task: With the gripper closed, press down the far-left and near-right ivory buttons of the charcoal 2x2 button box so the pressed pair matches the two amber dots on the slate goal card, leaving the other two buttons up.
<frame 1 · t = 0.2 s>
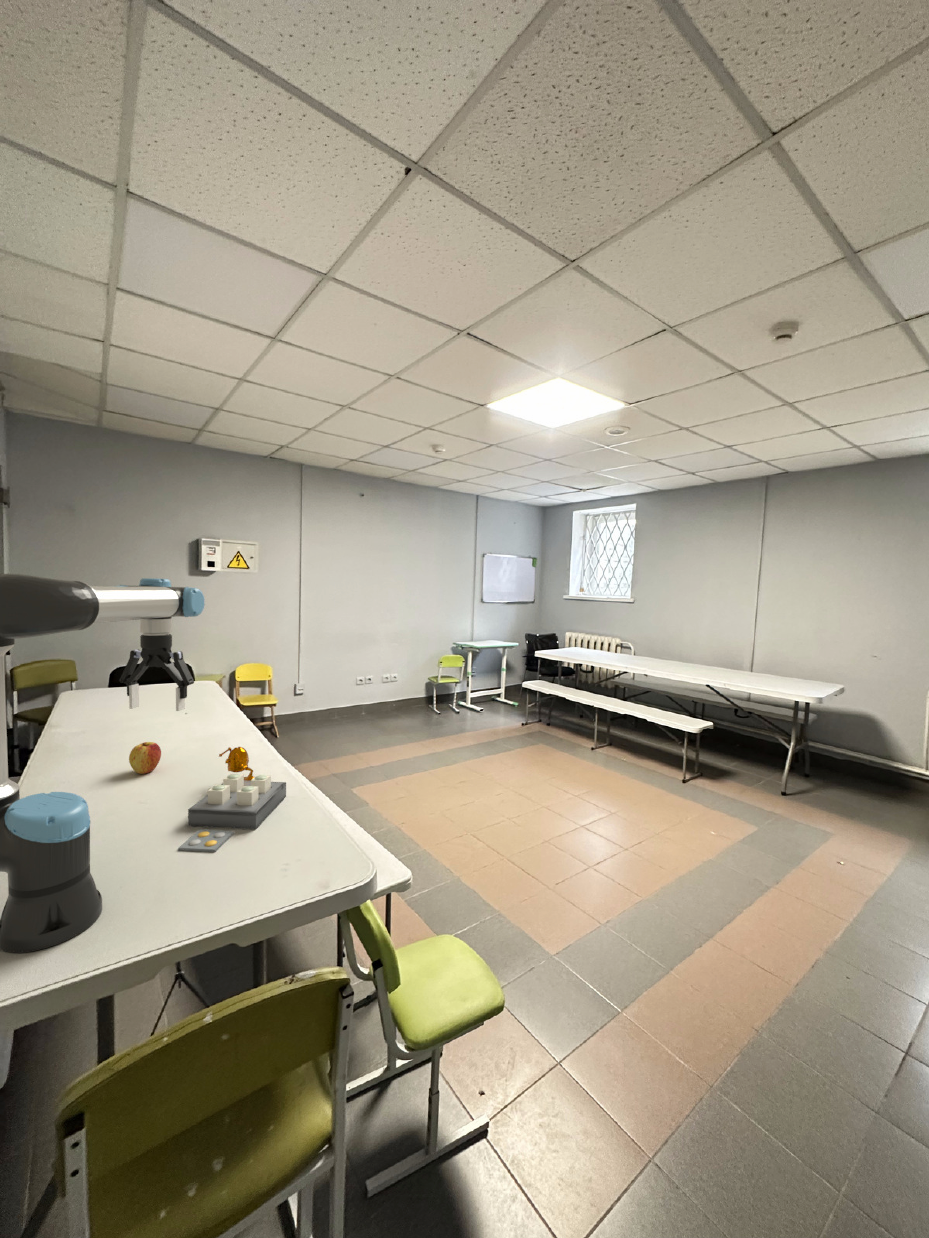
hand: (157, 708, 140), 28 cm above the table, fingers open, 13 cm apart
button far right: (260, 784, 143), point 6 cm above the table, slide at 0.0 cm
button far left: (233, 783, 144), point 6 cm above the table, slide at 0.0 cm
button near left: (219, 794, 136), point 6 cm above the table, slide at 0.0 cm
button near right: (247, 796, 135), point 6 cm above the table, slide at 0.0 cm
apple: (145, 772, 165), on the table
figurine: (240, 784, 158), on the table
goal card: (207, 841, 123), on the table
button box: (240, 810, 140), on the table
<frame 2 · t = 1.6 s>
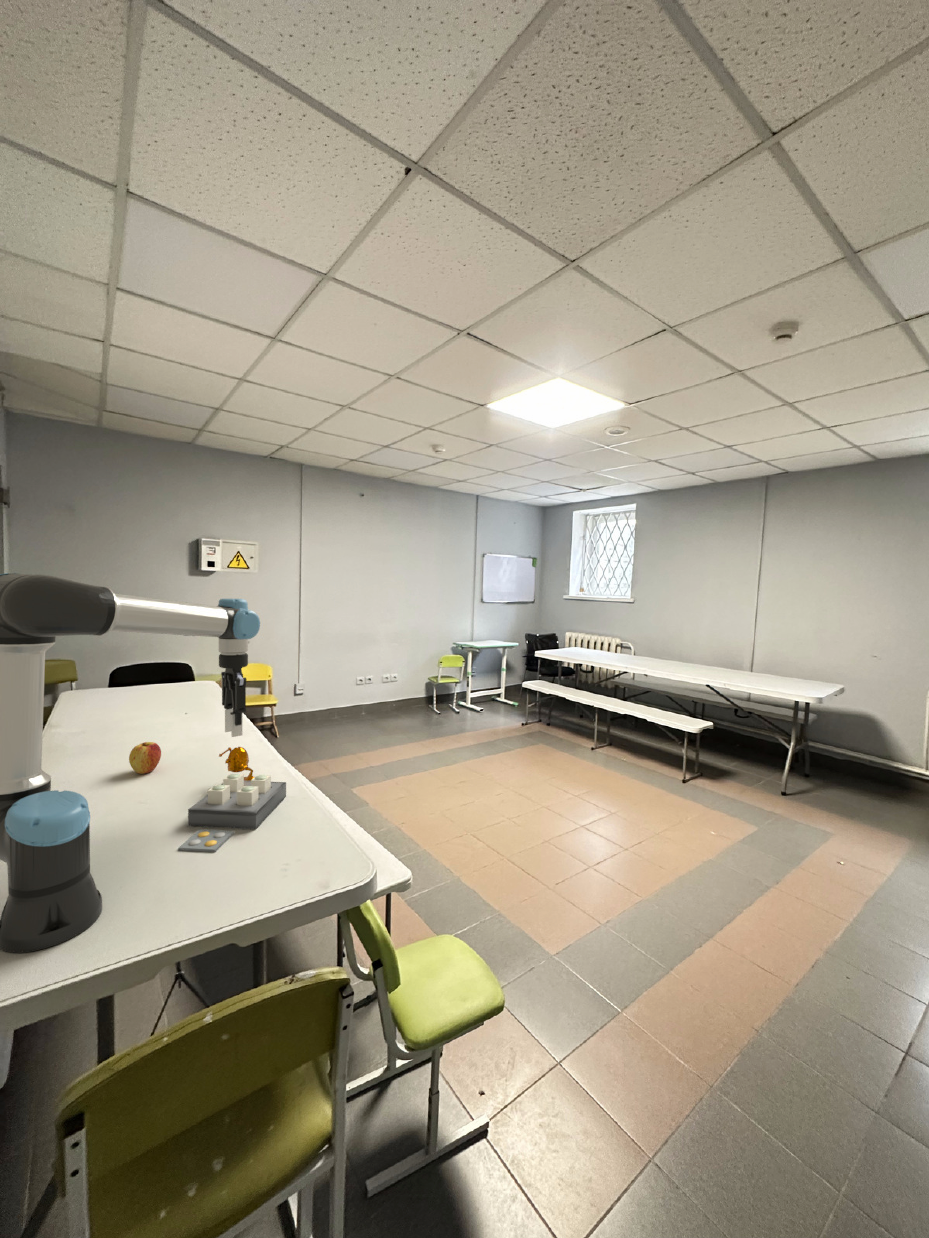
hand: (233, 733, 143), 21 cm above the table, fingers open, 5 cm apart
nothing on the table moved.
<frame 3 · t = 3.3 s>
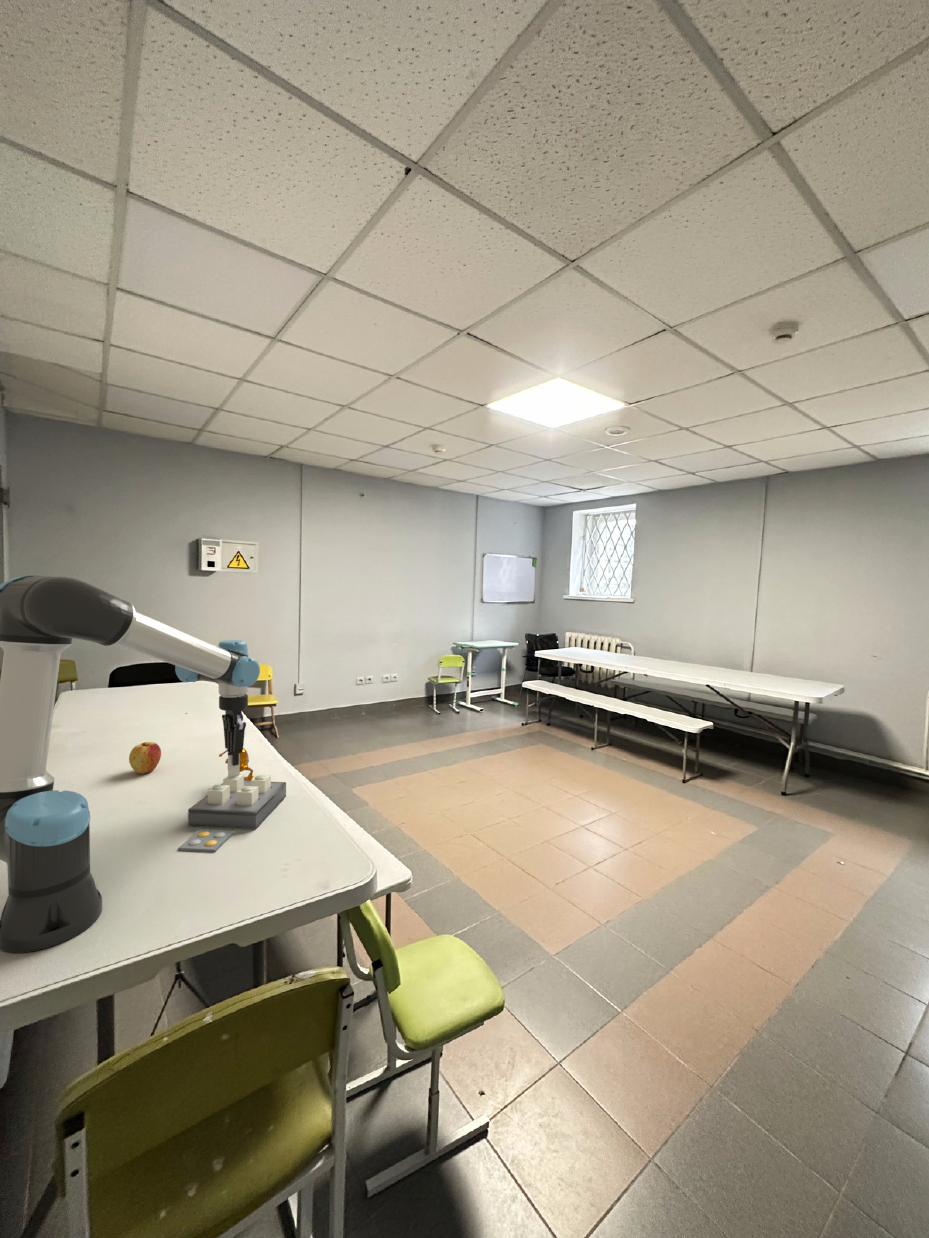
hand: (234, 774, 144), 8 cm above the table, fingers closed
button far left: (233, 783, 144), point 6 cm above the table, slide at 0.1 cm, touching gripper
everything else where it was.
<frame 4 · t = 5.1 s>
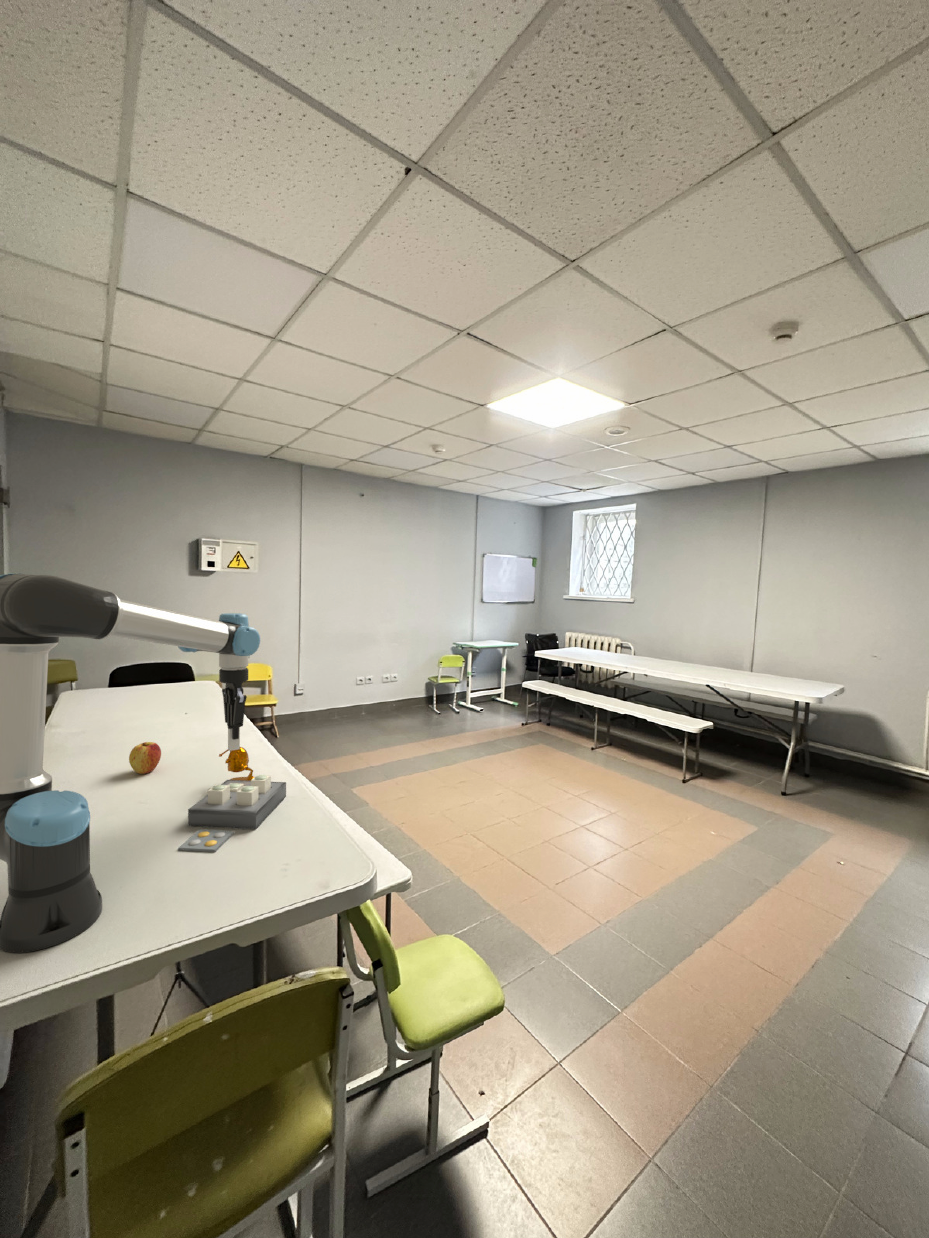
hand: (233, 749, 143), 16 cm above the table, fingers closed
button far left: (233, 792, 144), point 3 cm above the table, slide at 2.8 cm
everything else where it was.
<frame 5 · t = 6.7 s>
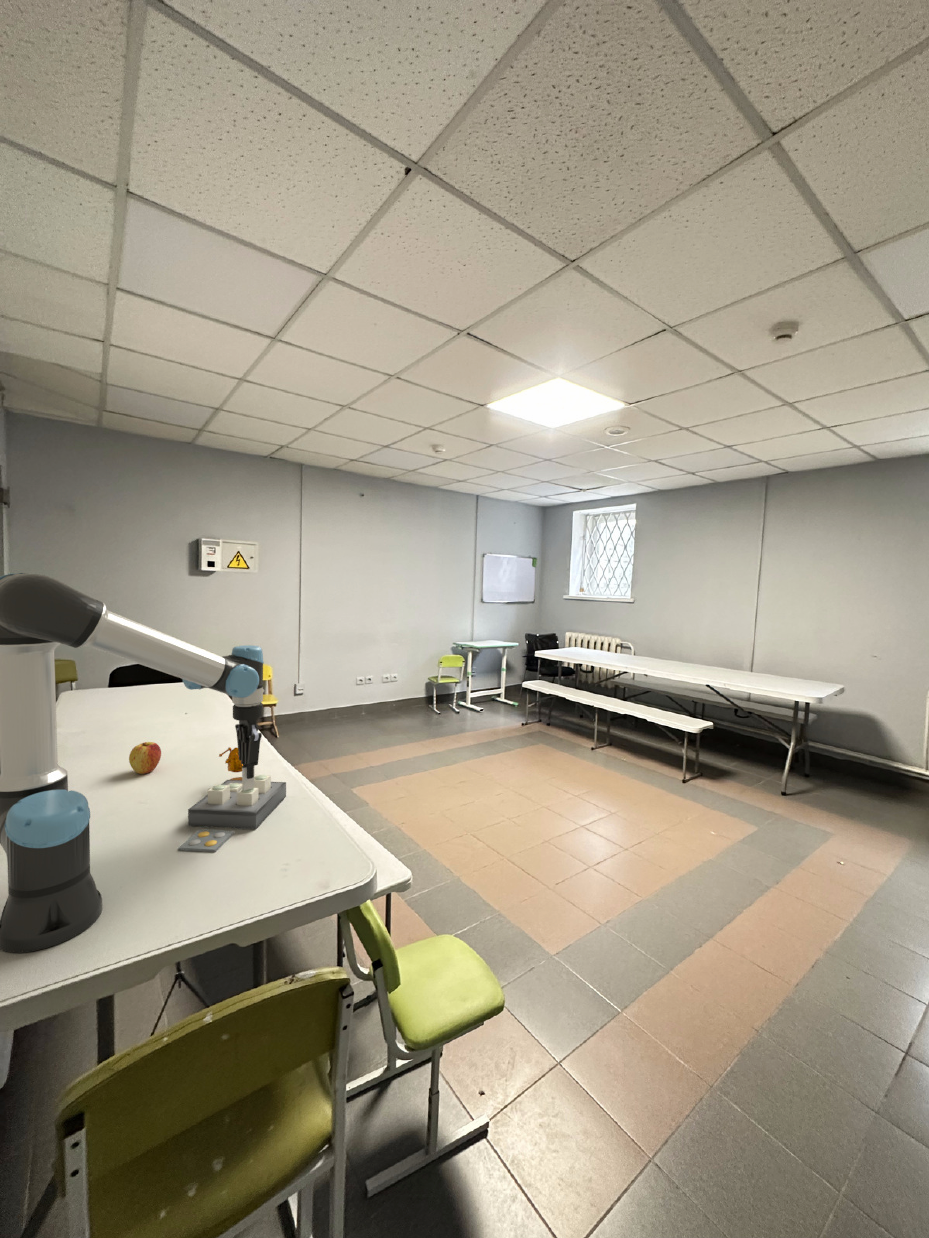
hand: (248, 788, 135), 8 cm above the table, fingers closed
button near right: (247, 797, 135), point 6 cm above the table, slide at 0.4 cm, touching gripper
everything else where it was.
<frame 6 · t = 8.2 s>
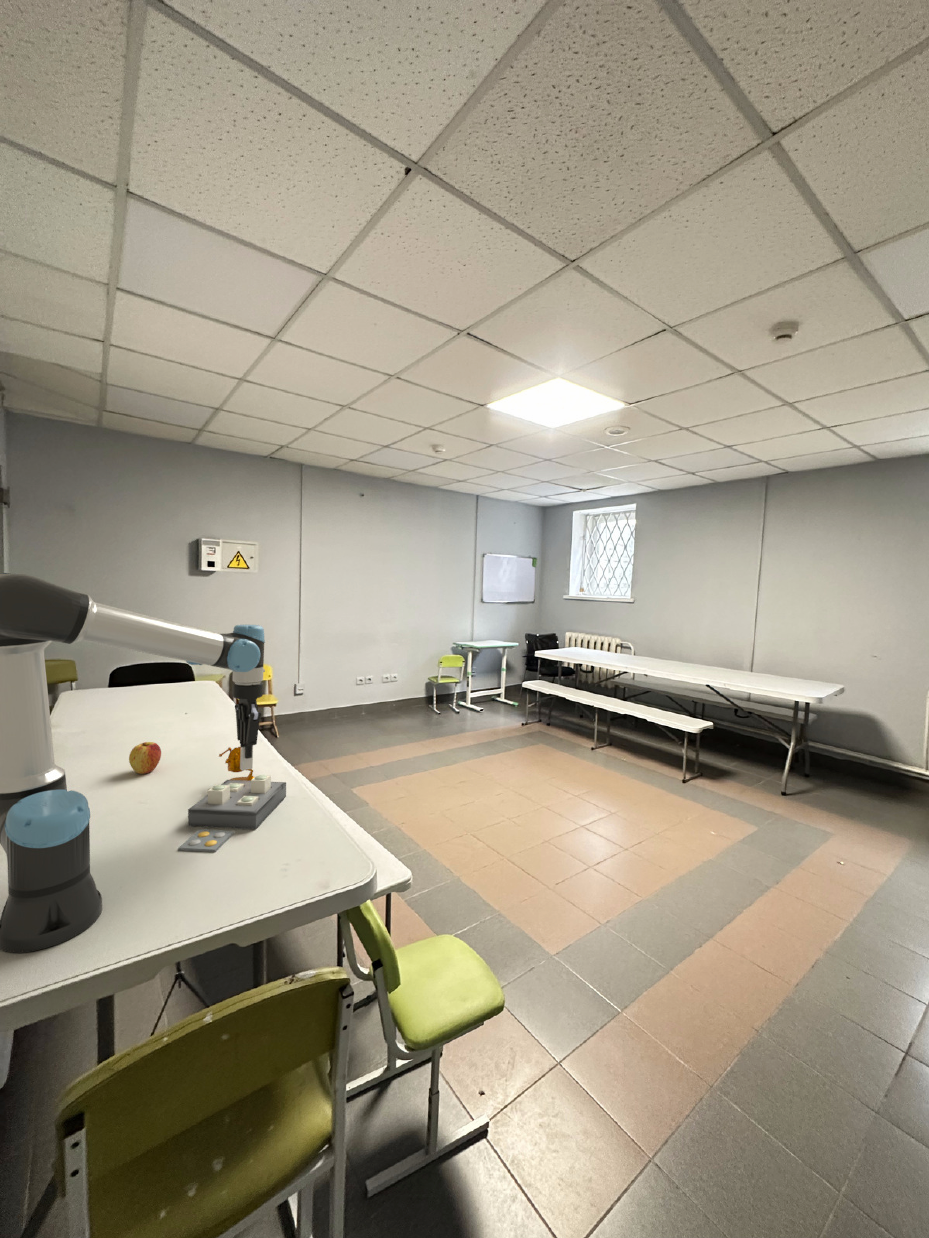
hand: (246, 768, 135), 14 cm above the table, fingers closed
button near right: (247, 806, 136), point 3 cm above the table, slide at 2.8 cm
everything else where it was.
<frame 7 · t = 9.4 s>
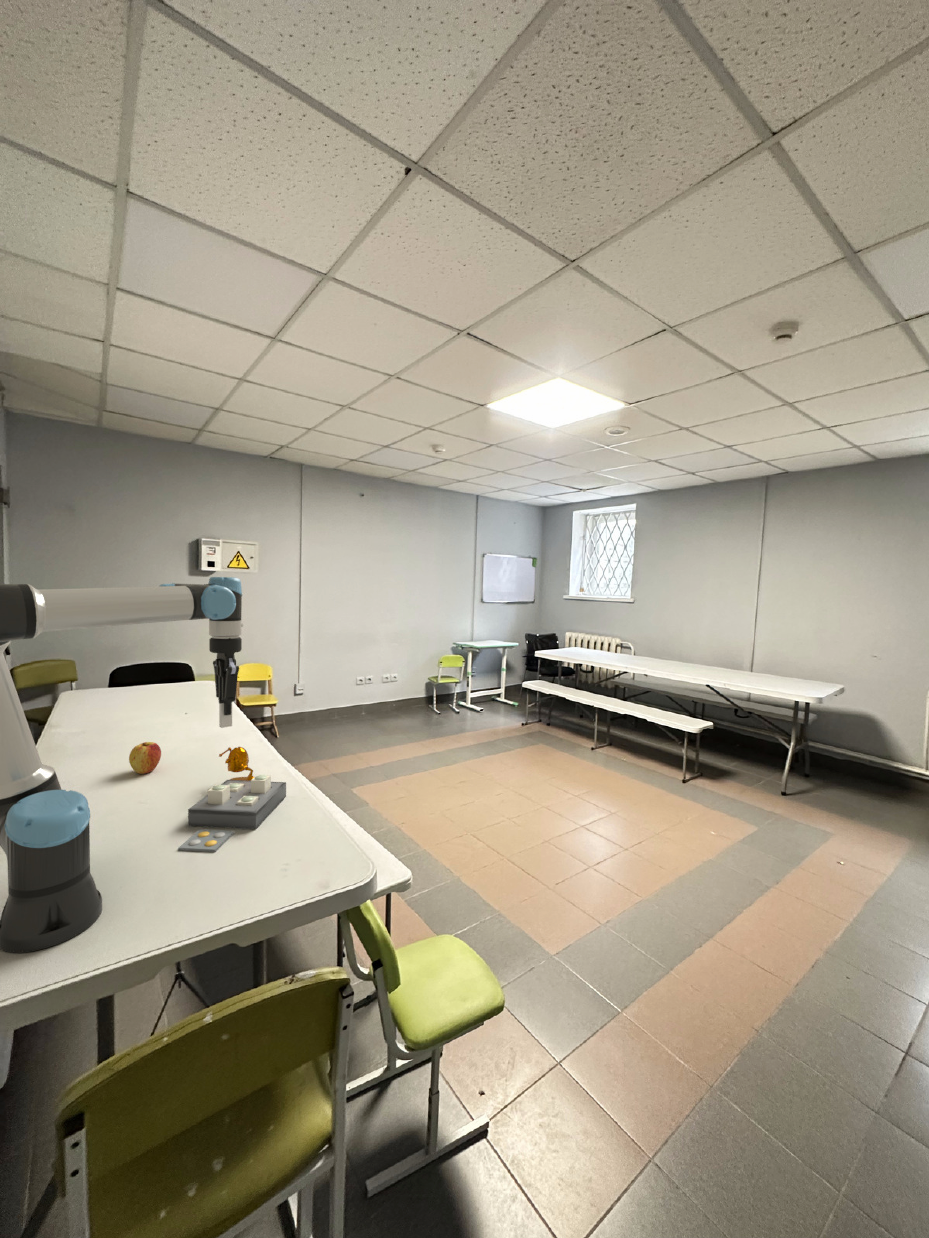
hand: (225, 726, 130), 26 cm above the table, fingers closed
nothing on the table moved.
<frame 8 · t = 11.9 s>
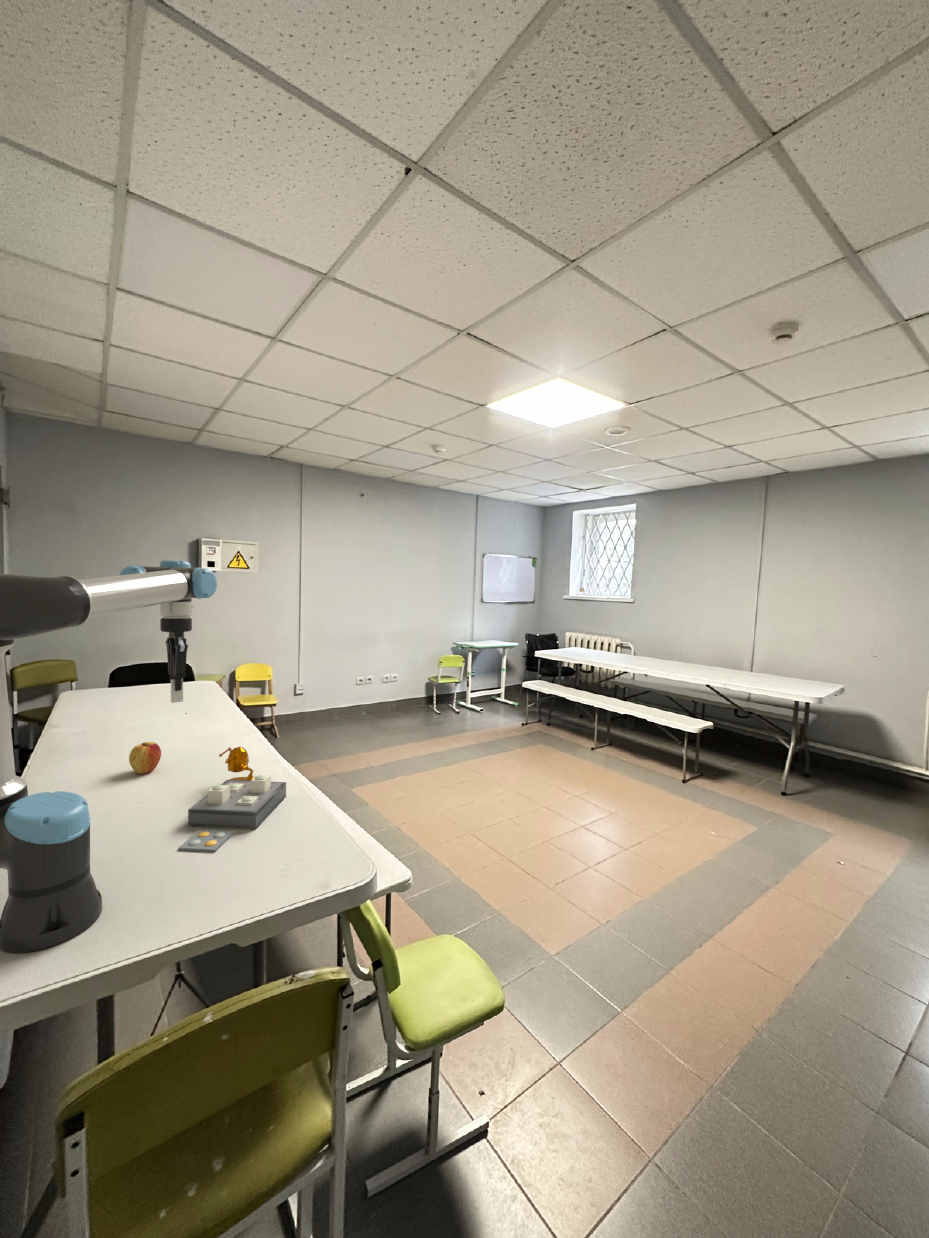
hand: (176, 701, 139), 30 cm above the table, fingers closed
nothing on the table moved.
at the end: button far left slide at 2.8 cm; button near right slide at 2.8 cm; button far right slide at 0.0 cm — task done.
